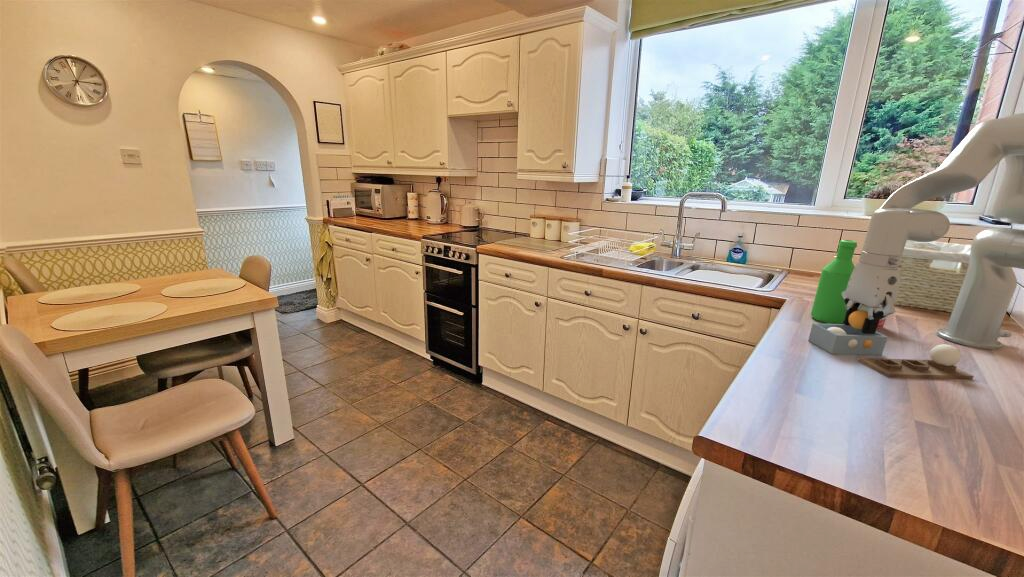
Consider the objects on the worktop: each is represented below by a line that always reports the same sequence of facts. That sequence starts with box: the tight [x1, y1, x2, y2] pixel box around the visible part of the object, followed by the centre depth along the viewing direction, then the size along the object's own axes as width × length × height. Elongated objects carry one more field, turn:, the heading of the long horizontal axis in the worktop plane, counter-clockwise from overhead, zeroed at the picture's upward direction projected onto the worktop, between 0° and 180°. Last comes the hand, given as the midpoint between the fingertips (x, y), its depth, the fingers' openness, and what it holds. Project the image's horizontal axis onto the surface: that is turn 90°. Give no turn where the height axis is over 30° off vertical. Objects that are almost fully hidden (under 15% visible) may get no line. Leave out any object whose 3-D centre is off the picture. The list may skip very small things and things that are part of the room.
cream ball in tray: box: [827, 327, 847, 335], centre depth 107 cm, size 5×5×5 cm
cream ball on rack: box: [929, 343, 962, 366], centre depth 96 cm, size 5×5×5 cm
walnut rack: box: [858, 357, 974, 380], centre depth 97 cm, size 20×8×2 cm, turn 92°
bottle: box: [810, 239, 858, 324], centre depth 125 cm, size 9×9×25 cm
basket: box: [894, 240, 971, 314], centre depth 150 cm, size 27×27×22 cm
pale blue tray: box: [807, 322, 889, 356], centre depth 108 cm, size 13×8×5 cm, turn 92°
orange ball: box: [849, 310, 868, 330], centre depth 106 cm, size 5×5×5 cm
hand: (858, 328), depth 107 cm, fingers closed on orange ball, 4 cm apart
